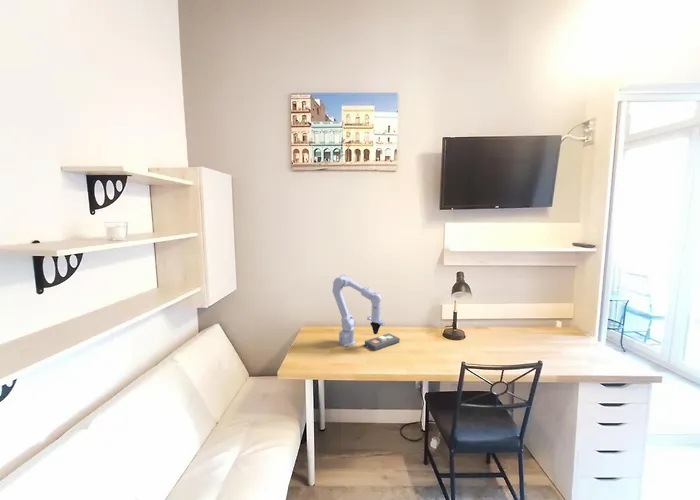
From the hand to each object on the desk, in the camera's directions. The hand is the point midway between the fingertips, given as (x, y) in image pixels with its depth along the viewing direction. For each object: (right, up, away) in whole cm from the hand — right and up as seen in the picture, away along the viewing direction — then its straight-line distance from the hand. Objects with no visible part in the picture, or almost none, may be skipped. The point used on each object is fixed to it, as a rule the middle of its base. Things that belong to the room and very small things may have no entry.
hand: (375, 333), depth 208 cm
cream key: (+5, -5, +4) cm, 8 cm away
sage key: (+9, -6, +8) cm, 14 cm away
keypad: (+5, -8, +5) cm, 10 cm away
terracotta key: (0, -7, +1) cm, 7 cm away
